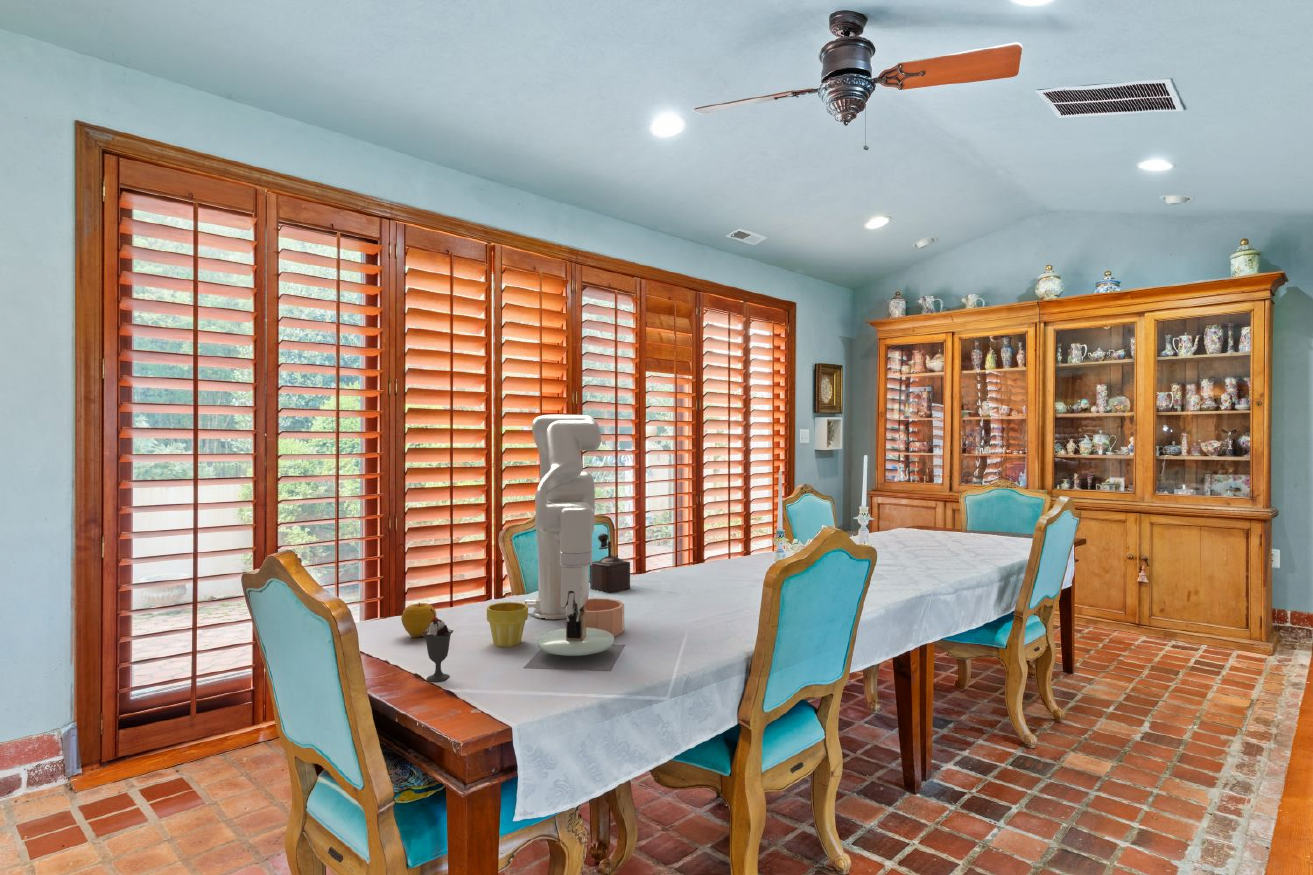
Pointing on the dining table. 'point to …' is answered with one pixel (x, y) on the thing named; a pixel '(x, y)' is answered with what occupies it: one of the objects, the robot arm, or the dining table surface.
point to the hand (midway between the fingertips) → (576, 633)
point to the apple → (417, 618)
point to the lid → (576, 640)
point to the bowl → (605, 615)
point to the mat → (577, 660)
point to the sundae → (437, 646)
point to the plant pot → (507, 622)
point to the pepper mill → (609, 571)
